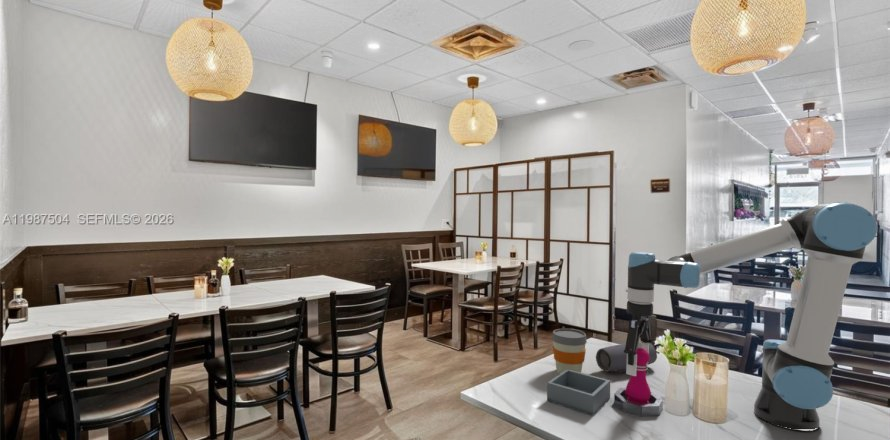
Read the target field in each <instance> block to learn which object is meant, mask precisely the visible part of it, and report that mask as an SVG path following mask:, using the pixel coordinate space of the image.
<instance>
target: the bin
mask: <svg viewBox="0 0 890 440" xmlns="http://www.w3.org/2000/svg"><path fill="white" fill-rule="evenodd" d="M546 383H547V384H546V388H547V389H546V401H547V402H548V403H552V404H554V405H555V404H556V405H559V406H561V407H564V408H568V409H571V410H573V411H574V410H575V411H577V412H581V413H583V414H587V415H590V416H593V417H594V416H595V415H596V414H597V413H598V412H599V410H601V409H602V408H603V407H604V405H606V403H607V402H608V401H609V400H610V399H611V380H610V379H606V378H603V377H602V378H601V377H600V376H599V377H598V376H594V375H590V374H587V373H583V372H581V373H580V372H576V371H572V370H568V369H566V370H565V371H563V372H562V373H560V374H557V375H556V376H555V377H553V378H552V379H551V380H549V381H548V382H546Z"/></svg>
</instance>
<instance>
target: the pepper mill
mask: <svg viewBox="0 0 890 440" xmlns="http://www.w3.org/2000/svg"><path fill="white" fill-rule="evenodd" d="M631 350H632V349H631ZM636 354H637V370H636V376H632V375H630V378H629V380H628V382H627V383H626V387H625V388H626V394H627V395H628V398H627V399H626V400H628V401H631V402H635V403H638V404H650V403H649V401H648V400H649V399H650V397H651V392H652V391H651V388H650V386H649V383H648V381H647V371H648V369H649V368H648V366H649V365H647V363H648V362H649V359H650V357H649V353H648V352H647V351H646V350H645V349H643V348H642V344H640V343H638V347H637V351H636Z"/></svg>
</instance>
